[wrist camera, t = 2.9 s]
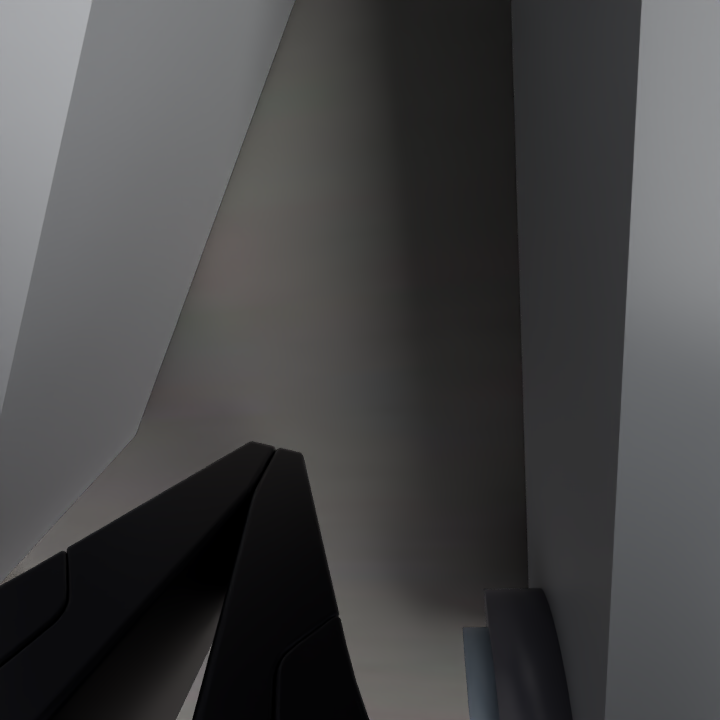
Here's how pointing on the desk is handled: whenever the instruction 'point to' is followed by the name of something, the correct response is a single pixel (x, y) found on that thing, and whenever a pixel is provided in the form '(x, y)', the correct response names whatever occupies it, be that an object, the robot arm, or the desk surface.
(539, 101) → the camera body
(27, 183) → the door
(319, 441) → the desk surface
